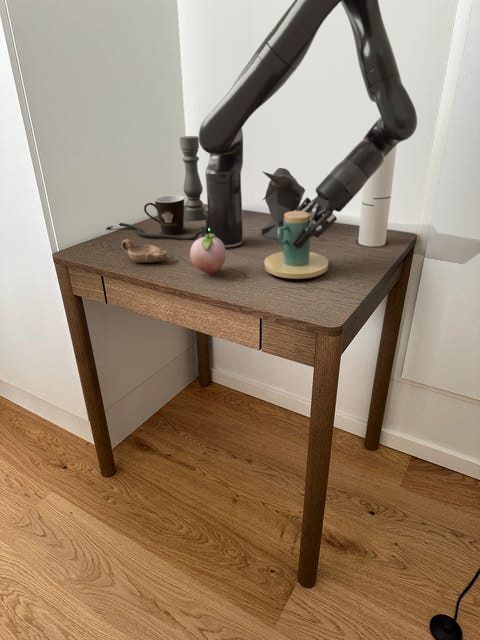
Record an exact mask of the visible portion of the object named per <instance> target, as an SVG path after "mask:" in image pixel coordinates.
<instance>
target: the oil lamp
mask: <svg viewBox="0 0 480 640" xmlns="http://www.w3.org/2000/svg"><path fill="white" fill-rule="evenodd" d="M120 246H121V249H122V250H123V252H125V253H127V254H128V256H129V257H130V259H131V260H132V261H134V262H136V263H141V264H142V263H143V264H144V263H145V264H146V263H160V262H162V261H164V260H165V259H166V257H167V254H168V253H167V252H168V251H167V250H162V248H160V247H158V246H156V245H153V244H137V245H134V243H133V242H132V240H131V239H129V238H126V239H124V240H122V241H121V245H120ZM127 246H128V247H127Z"/></svg>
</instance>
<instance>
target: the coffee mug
mask: <svg viewBox="0 0 480 640" xmlns="http://www.w3.org/2000/svg"><path fill="white" fill-rule="evenodd" d="M148 206H153V207H154V208H155V210H156V212H157V216H158V219H157V218H155V217H154V216H152V215H151V214H150V213H149V212H148V211H147V207H148ZM143 211H144V213H145V214H146V215H147V216H148V218H151V219H152V220H153V221H155V222H156V223H158V224H159V225H160V229H161V234H162V235H174V236H178V235H180V234H184V225H185V220H184V219H185V197H184V196H182V195H179V194H178V195H177V194H171V195H170V194H169V195H162V196H157V197H156V198H154V203H153V202H147V203H145V205H144V207H143Z"/></svg>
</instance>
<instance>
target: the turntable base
mask: <svg viewBox="0 0 480 640" xmlns="http://www.w3.org/2000/svg"><path fill="white" fill-rule="evenodd" d="M319 276H320V275H318V276H315V277H311V278H302V279H292V278H283V277H279V276H275V275H273V277H276V278H278V279H282V280H285V281H295V282H296V281H299V282H300V281H308V280H312V279H315V278H317V277H319Z"/></svg>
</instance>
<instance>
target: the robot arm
mask: <svg viewBox="0 0 480 640" xmlns="http://www.w3.org/2000/svg"><path fill="white" fill-rule="evenodd" d="M340 3H341V6H342V7H343V9H344V11H345V14H346V17H347V19H348V21H349V24H350V27H351V31H352V36H353V40H354V45H355V50H356V56H357V62H358V66H359V70H360V73H361V77H362V81H363V83H364V86H365V90H366V93H367V96H368V97H369V100H370V101H371V102H372V103H375V105H376V106H377V109H378V112H379V115H380V116H379V118H378V119H377V120H376V121H375V122H374V123H373V125H372V126H371V128H370V129H369V130H368V131H367V132H366V134H365V136H364V137H363V138H362V140H360V141H359V142H358V143H357V144H356V145H355V146H354V148H353V149H351V150H350V152H349V153H348V154H347V155H346V156H345V157H344V159H343V160H341V161H340V162H339V163H338V164H337V165H335V167H334V168H333V169H332V170H331V171H330V172H329V174H327V175H326V177H325V178H324V179H323V180H322V181H321V182H320V183H319V184H318V185H317V186H316V188H315V193H316V194H317V195H316V196H315V198H313V199H310V198H309V197H306V198H304V199H303V201H301V203H300V205H299V207H298V208H297V210H295V211H305V212H308V213H310V217H309V219H308V221H307V222H308V224H307V225H306V227H305V229H304V231H305V232H304V231H302V232H301V233H300V234H299V235H298V236H297V237H296V239H295V240H294V241H293V242H292V244H293V245H294V246H295V247H296V248H297V249H300V248H301V247H302V246H303V245H304V244H305V243H306V242H307V241H308V239H309V238H310V239H312V238H316V239H318V238H320V237H321V236H322V235H323V234H324V233H325V232H326V231H327V230H328V229H329V228H330V227H331V226H332V225H333V224H334V223H335V222H336V221H337V219H338V218H337V216H336V215H335V214H334V211H335V212H338V213H340V212H342V211H343V209H344V208H345V207H346V206H347V205H348V204H349V203H350V202H351V201H352V200H353V199H354V197H356V195H357V194H358V193H359V192H360V191H362V189H363V186H364V184H365V183H366V182H367V180H368V179H369V178H370V177H371V176H372V175H373V174H374V173H375V172H376V171H377V170H378V168H379V167H380V166H381V165H382V163H383V161H384V158H385V157H386V156H387V155H388V153H389V152H390V151H391V150H392V149H393V148H394V147H395V146H396V145H397V146H398V144H400V143H402V142H404V141H407V140H408V139H410V138H411V137H412V136H413V135H414V133H415V132H416V130H417V126H418V116H417V110H416V108H415V105H414V103H413V101H412V99H411V97H410V95H409V92H408V90H407V89H406V87H405V86H404V85H403V82H402V79H401V74H400V71H399V67H398V63H397V60H396V57H395V54H394V53H395V52H394V51H393V47H392V45H391V41H390V37H389V35H388V33H387V29H386V27H385V23H384V20H383V15H382V13H381V8H380V3H379V0H294V1H293V2H292V3H291V4H290V6H289V7H288V8H287V10H286V11H285V12H284V14H283V15H282V16H281V18H280V19H279V20H278V21H277V23H276V24H275V25H274V27H273V28H272V29H271V31H270V32H269V33H268V34H267V35H266V37H265V38H264V40H263V41H262V42H261V44H260V45H259V47H258V48H257V49H256V51H255V52H254V53H253V55H252V56H251V58H250V59H249V60H248V62H247V63H246V65H245V66H244V68H243V69H242V71H241V72H240V74H239V75H238V77H237V78H236V80H235V81H234V83H233V84H232V86H231V87H230V89H229V90H228V92H227V93H226V94H225V95H224V97H223V98H222V99H221V100H220V101H219V102H218V103H217V104H216V105H215V107H214V108H213V109H212V110H211V111H210V112H208V114H207V115H206V116H205V117H204V118H203V120H202V121H201V123H200V125H199V127H198V133H197V137H198V140H199V146H200V147H201V148H202V150H203V151H205V152H206V153H207V154H209V158H208V163H207V166H206V168H205V172H204V173H205V187H206V189H205V190H206V202H207V207H206V208H205V209H204V213H205V225H202V226H201V229H200V230H197V232H196V233H195V234H194V235H192V236H180V235H165V234H153V233H146V232H142V230H141V228H140V227H139V226H137V225H133V224H130V223H125V222H119V223H120V224H119V225H120V226H119V227H126V228H129V229H134V230H137V232H138V235H139V236H141V237H145V238H153V239H173V240H179V241H180V240H181V241H191V240H195V239H197V238H198V237H199V236H200V235H201V238H202V237H205V235H206V234H207V233H209V234H214V235H215V237H216V238H218V239H220V240H221V241H222V243H223V244H224V246H225V249H232V248H237V247H239V246H242V245H243V244H244V229H243V198H242V194H243V193H242V171H243V166H244V165H243V164H244V134H243V133H244V131H243V127H244V125H245V124H246V123H247V121H248V120H249V119H250V117H251V116H252V115H253V114H254V113H255V112H256V111H257V110H258V109H259V108H261V106H263V105H264V104H265V103H266V102H267V101H269V100H270V99H271V98H272V97H273V96H274V95H275V94H276V93H277V92H279V90H280V89H281V88H282V87H283V86H284V85H285V84H286V82H288V81H289V79H290V78H291V77H292V76H293V74H294V73H295V72H296V70H297V69H298V68H299V66H300V65H301V64H302V62H303V60H305V57H306V56H307V54H308V52H309V50H310V48H311V46H312V44H313V41H314V39H315V37H316V35H317V34H318V32H319V30H320V28H321V27H322V25H323V23H324V21H325V20H326V19H327V18H328V16H329V15H330V14H331V13H332V12H333V10H334V9H335V8H336V7H337V6H338V5H339V4H340ZM107 227H108V226H107ZM107 227H106V228H105V230H110V229H111V228H113V227H114V226H111V227H108V228H107ZM282 235H283V233H282Z"/></svg>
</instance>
